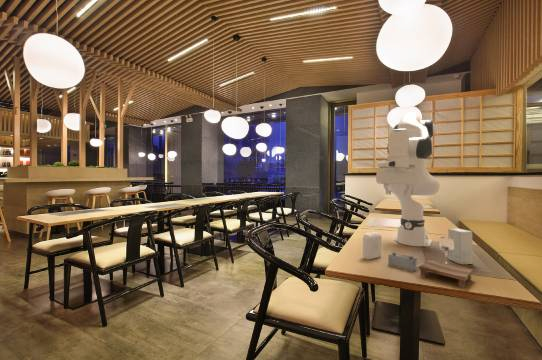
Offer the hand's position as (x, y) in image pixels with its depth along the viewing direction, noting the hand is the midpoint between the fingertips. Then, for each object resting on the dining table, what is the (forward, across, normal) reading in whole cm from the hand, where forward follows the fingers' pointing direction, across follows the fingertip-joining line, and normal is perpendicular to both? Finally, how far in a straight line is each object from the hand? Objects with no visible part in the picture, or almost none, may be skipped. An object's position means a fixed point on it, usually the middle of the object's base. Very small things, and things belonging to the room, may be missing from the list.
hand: (397, 194), depth 121 cm
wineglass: (+31, -20, +8) cm, 38 cm away
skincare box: (+30, -30, +6) cm, 43 cm away
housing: (+31, +1, +6) cm, 32 cm away
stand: (+31, -6, +20) cm, 37 cm away
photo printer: (+31, +6, -9) cm, 33 cm away
